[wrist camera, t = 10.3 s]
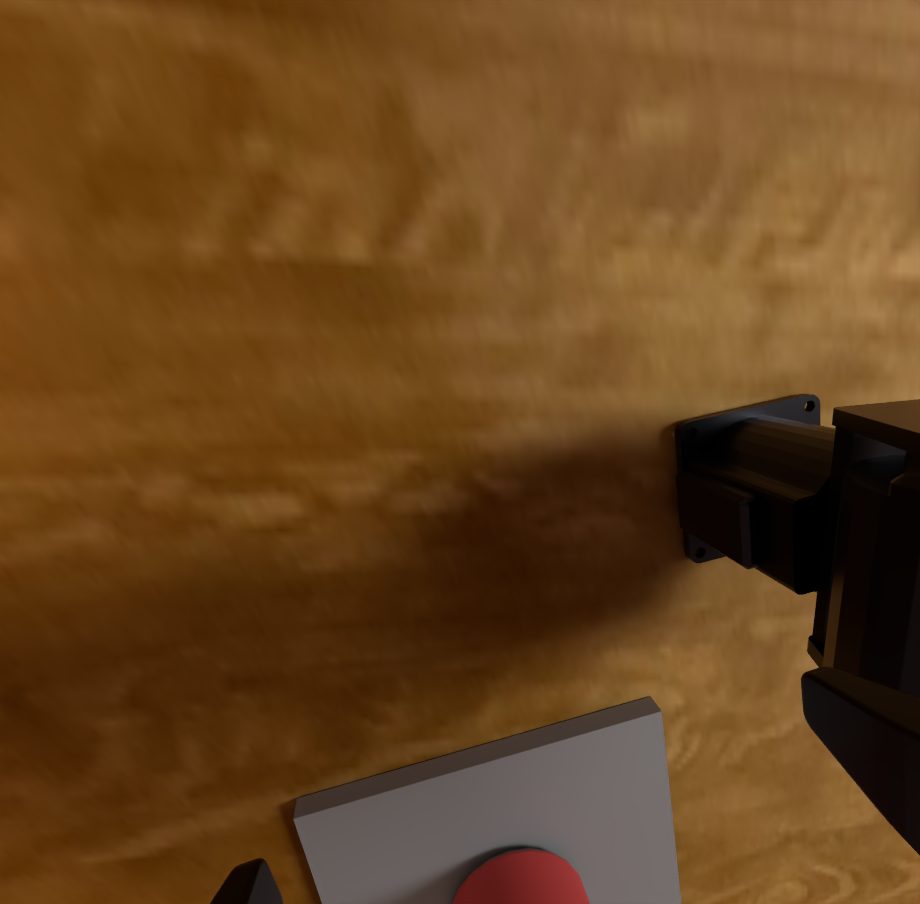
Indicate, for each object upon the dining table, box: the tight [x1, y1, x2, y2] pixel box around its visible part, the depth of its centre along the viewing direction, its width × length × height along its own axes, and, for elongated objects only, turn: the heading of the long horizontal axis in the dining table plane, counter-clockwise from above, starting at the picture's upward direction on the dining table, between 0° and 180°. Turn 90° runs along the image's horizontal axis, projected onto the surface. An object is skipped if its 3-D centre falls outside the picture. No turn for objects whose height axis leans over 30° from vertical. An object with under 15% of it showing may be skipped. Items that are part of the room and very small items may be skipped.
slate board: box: [293, 697, 681, 904], centre depth 25 cm, size 17×16×1 cm
